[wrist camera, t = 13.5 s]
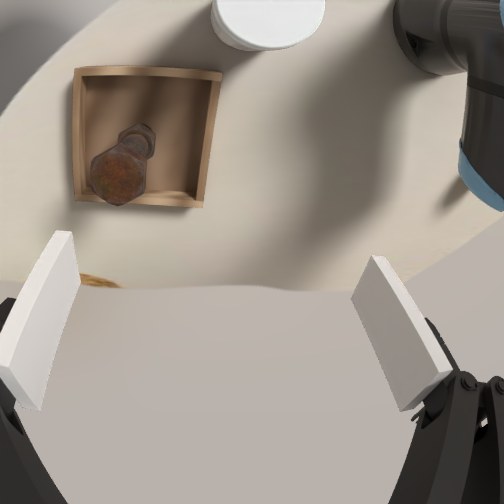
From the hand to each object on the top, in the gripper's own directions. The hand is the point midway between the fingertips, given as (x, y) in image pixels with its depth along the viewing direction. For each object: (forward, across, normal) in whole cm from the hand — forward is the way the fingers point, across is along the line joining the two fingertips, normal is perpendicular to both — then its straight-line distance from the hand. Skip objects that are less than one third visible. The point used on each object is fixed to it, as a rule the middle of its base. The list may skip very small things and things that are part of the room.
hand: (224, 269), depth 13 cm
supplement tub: (+32, +2, +14) cm, 35 cm away
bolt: (+30, -9, -3) cm, 32 cm away
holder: (+31, -9, -3) cm, 33 cm away
